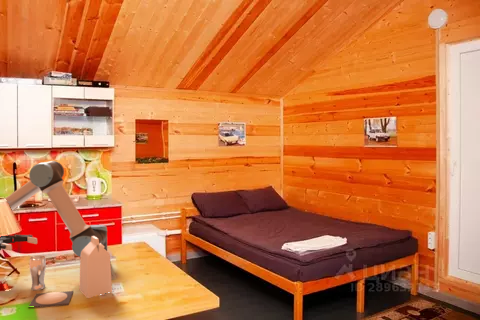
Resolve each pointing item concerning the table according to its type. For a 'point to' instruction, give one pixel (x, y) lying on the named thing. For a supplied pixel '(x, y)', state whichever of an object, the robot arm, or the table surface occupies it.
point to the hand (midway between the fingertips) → (24, 244)
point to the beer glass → (37, 272)
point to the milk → (95, 269)
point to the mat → (51, 299)
